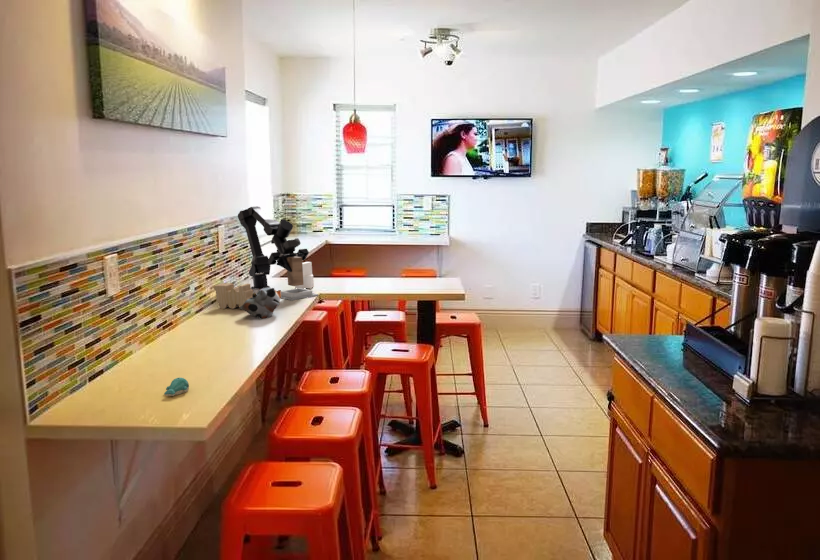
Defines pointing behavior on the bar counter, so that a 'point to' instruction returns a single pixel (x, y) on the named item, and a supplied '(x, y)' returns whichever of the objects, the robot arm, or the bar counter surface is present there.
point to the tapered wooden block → (295, 271)
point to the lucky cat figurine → (262, 303)
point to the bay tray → (297, 294)
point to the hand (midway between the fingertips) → (296, 270)
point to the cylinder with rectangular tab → (307, 276)
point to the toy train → (232, 295)
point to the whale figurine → (177, 387)
